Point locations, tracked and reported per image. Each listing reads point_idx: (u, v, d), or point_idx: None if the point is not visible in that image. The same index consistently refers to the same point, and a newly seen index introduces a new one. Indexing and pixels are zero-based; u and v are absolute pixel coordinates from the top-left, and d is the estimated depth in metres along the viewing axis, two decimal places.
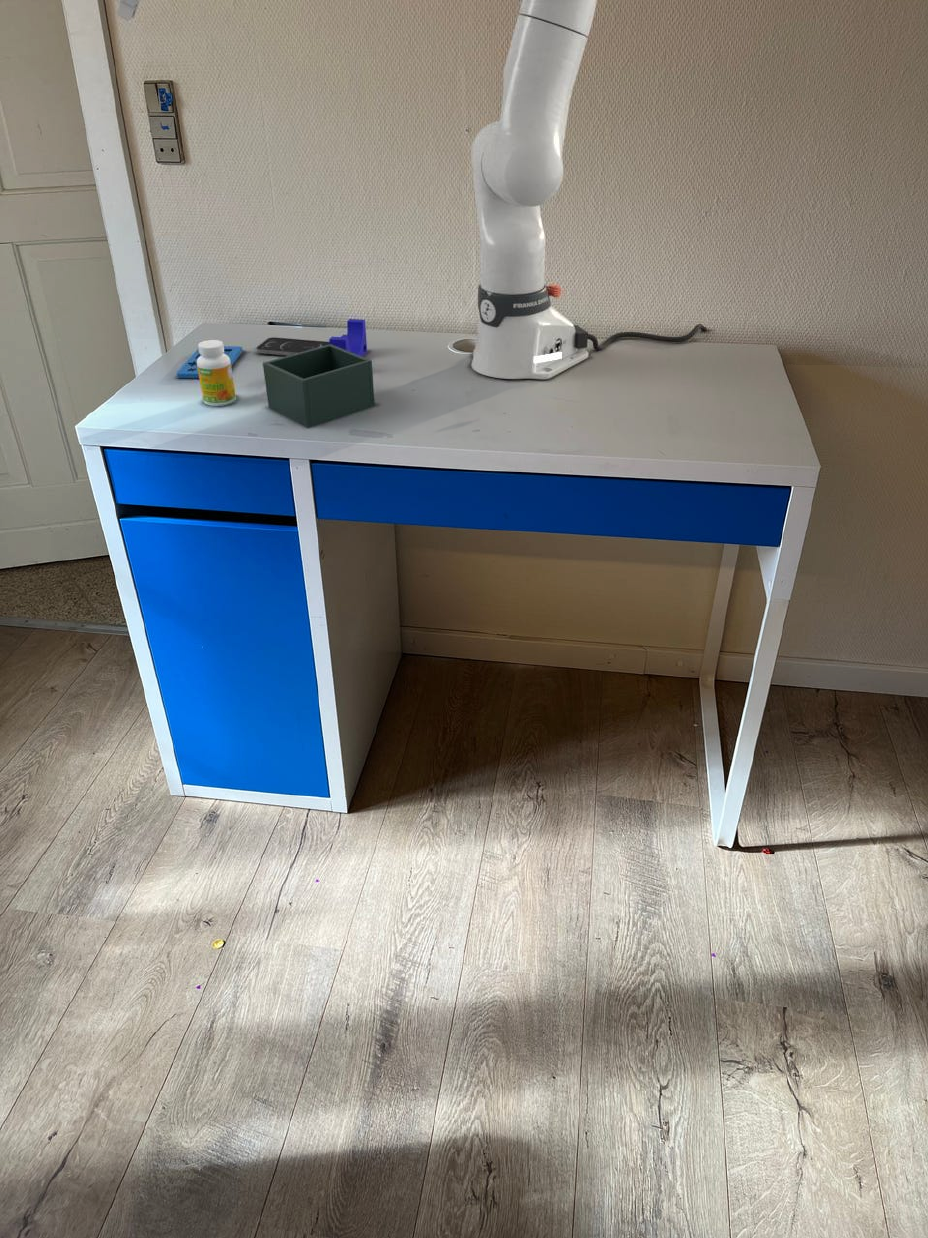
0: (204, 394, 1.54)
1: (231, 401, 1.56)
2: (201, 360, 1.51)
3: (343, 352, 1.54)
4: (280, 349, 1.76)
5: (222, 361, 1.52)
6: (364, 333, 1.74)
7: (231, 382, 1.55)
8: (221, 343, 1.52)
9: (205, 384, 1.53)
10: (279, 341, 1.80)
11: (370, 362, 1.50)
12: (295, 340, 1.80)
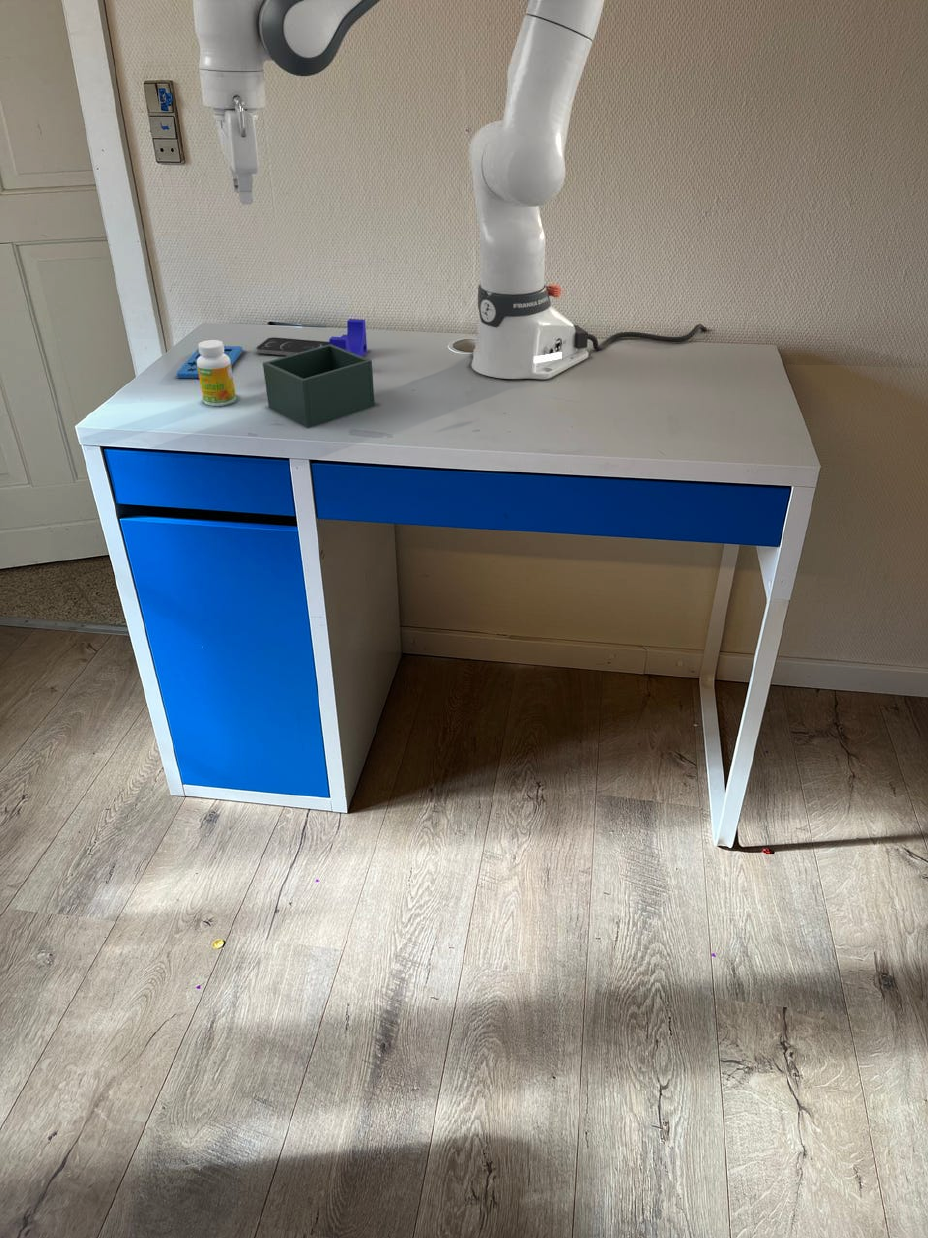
0: (204, 394, 1.54)
1: (231, 401, 1.56)
2: (202, 360, 1.51)
3: (343, 352, 1.54)
4: (280, 349, 1.76)
5: (222, 361, 1.52)
6: (364, 333, 1.74)
7: (231, 382, 1.55)
8: (221, 343, 1.52)
9: (205, 384, 1.53)
10: (279, 341, 1.80)
11: (370, 362, 1.50)
12: (295, 340, 1.80)
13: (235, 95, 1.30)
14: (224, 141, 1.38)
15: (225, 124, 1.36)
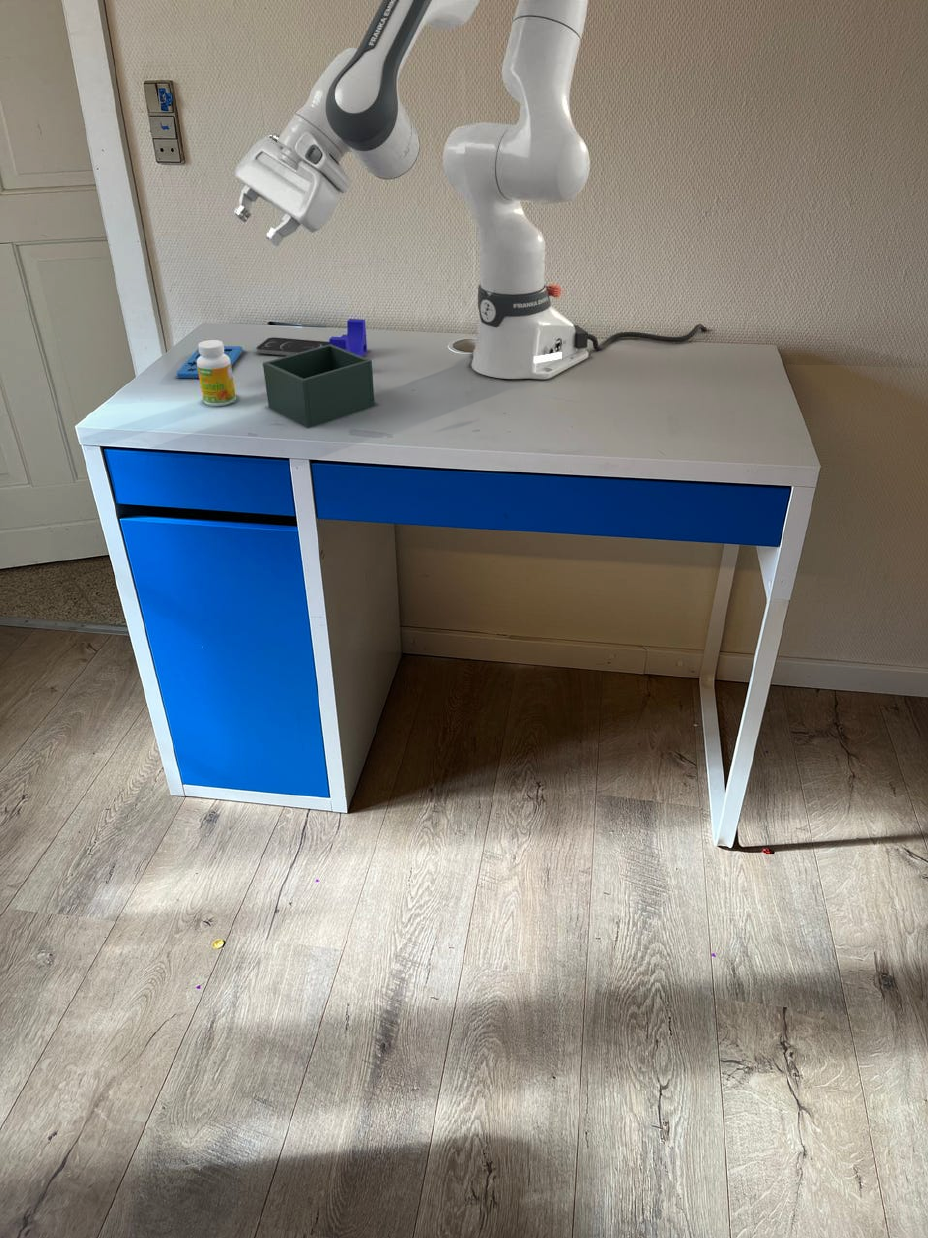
0: (204, 394, 1.54)
1: (231, 401, 1.56)
2: (202, 360, 1.51)
3: (343, 352, 1.54)
4: (280, 349, 1.76)
5: (222, 361, 1.52)
6: (364, 333, 1.74)
7: (231, 382, 1.55)
8: (221, 343, 1.52)
9: (205, 384, 1.53)
10: (279, 341, 1.80)
11: (370, 362, 1.50)
12: (295, 340, 1.80)
13: None
14: None
15: None
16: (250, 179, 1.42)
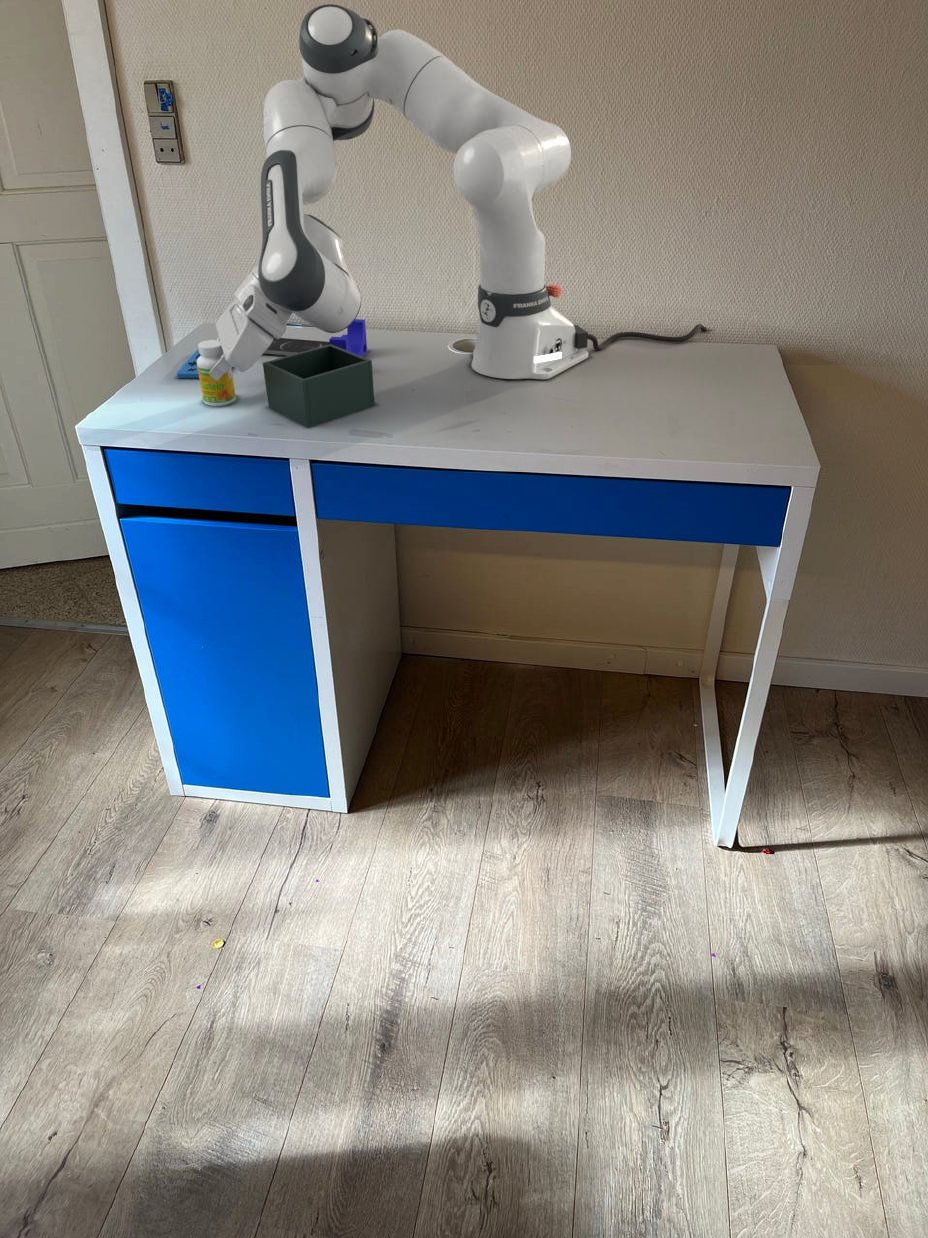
0: (204, 394, 1.54)
1: (231, 401, 1.56)
2: (201, 360, 1.51)
3: (343, 352, 1.54)
4: (280, 349, 1.76)
5: None
6: (364, 333, 1.74)
7: (231, 382, 1.55)
8: None
9: (205, 384, 1.53)
10: (279, 341, 1.80)
11: (370, 362, 1.50)
12: (295, 340, 1.80)
13: None
14: None
15: None
16: (219, 327, 1.55)
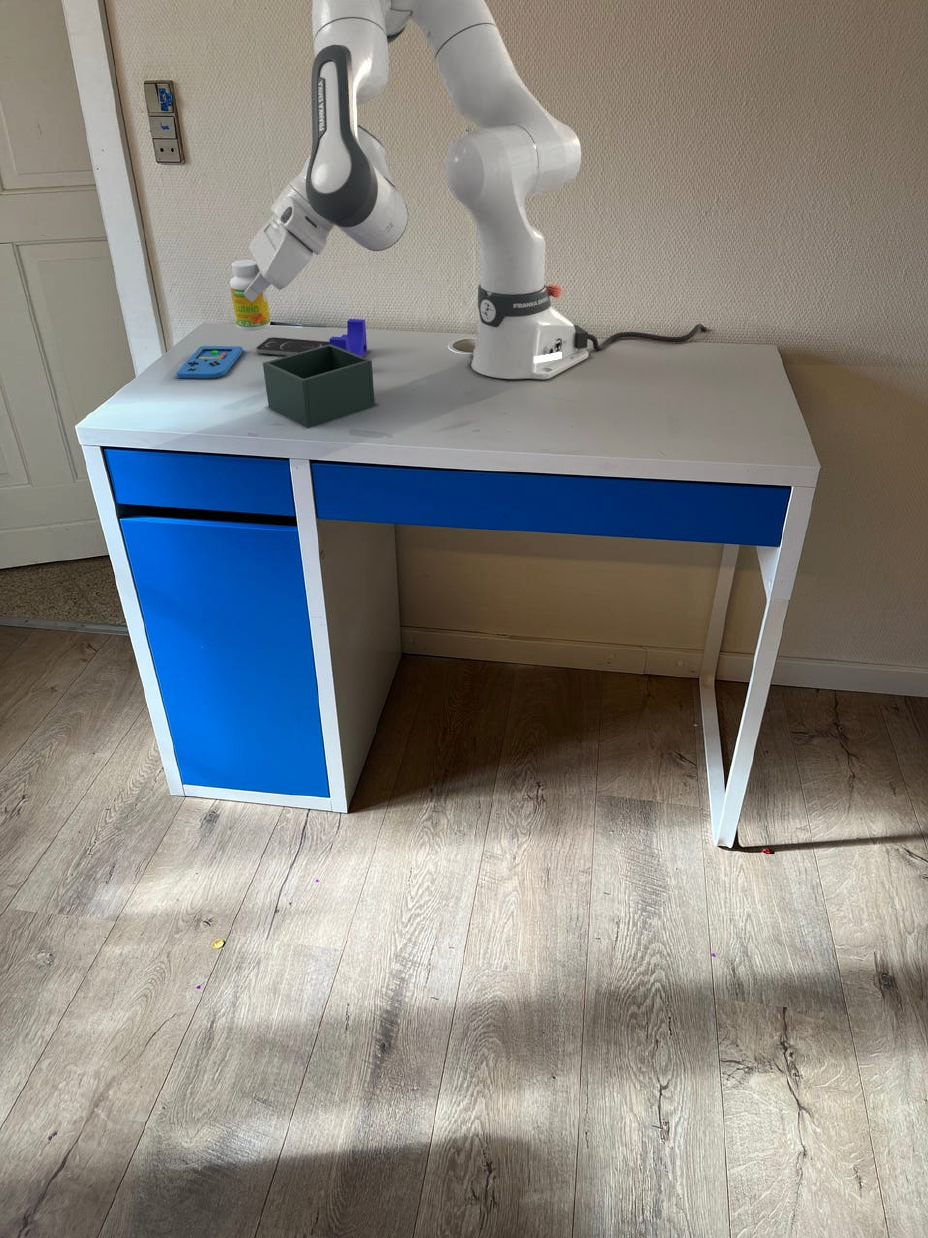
0: (237, 317, 1.46)
1: (266, 326, 1.47)
2: (235, 280, 1.43)
3: (343, 352, 1.54)
4: (280, 349, 1.76)
5: None
6: (364, 333, 1.74)
7: (266, 305, 1.46)
8: None
9: (239, 307, 1.45)
10: (279, 341, 1.80)
11: (370, 362, 1.50)
12: (295, 340, 1.80)
13: None
14: None
15: None
16: (253, 248, 1.47)
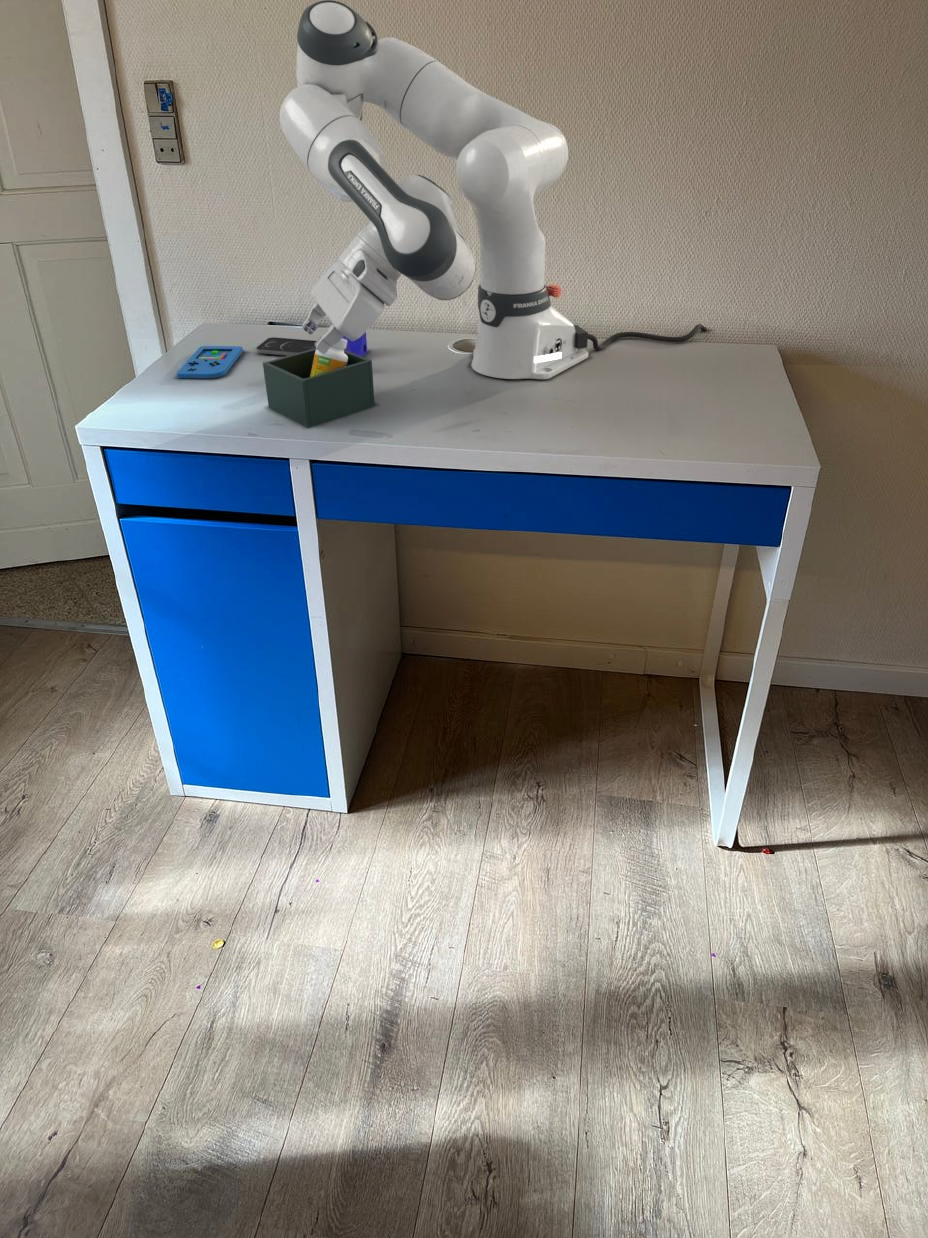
0: None
1: None
2: None
3: None
4: (280, 349, 1.76)
5: (343, 355, 1.50)
6: (364, 333, 1.74)
7: None
8: (346, 340, 1.51)
9: (318, 373, 1.50)
10: (279, 341, 1.80)
11: (370, 362, 1.50)
12: (295, 340, 1.80)
13: None
14: None
15: None
16: (318, 295, 1.49)
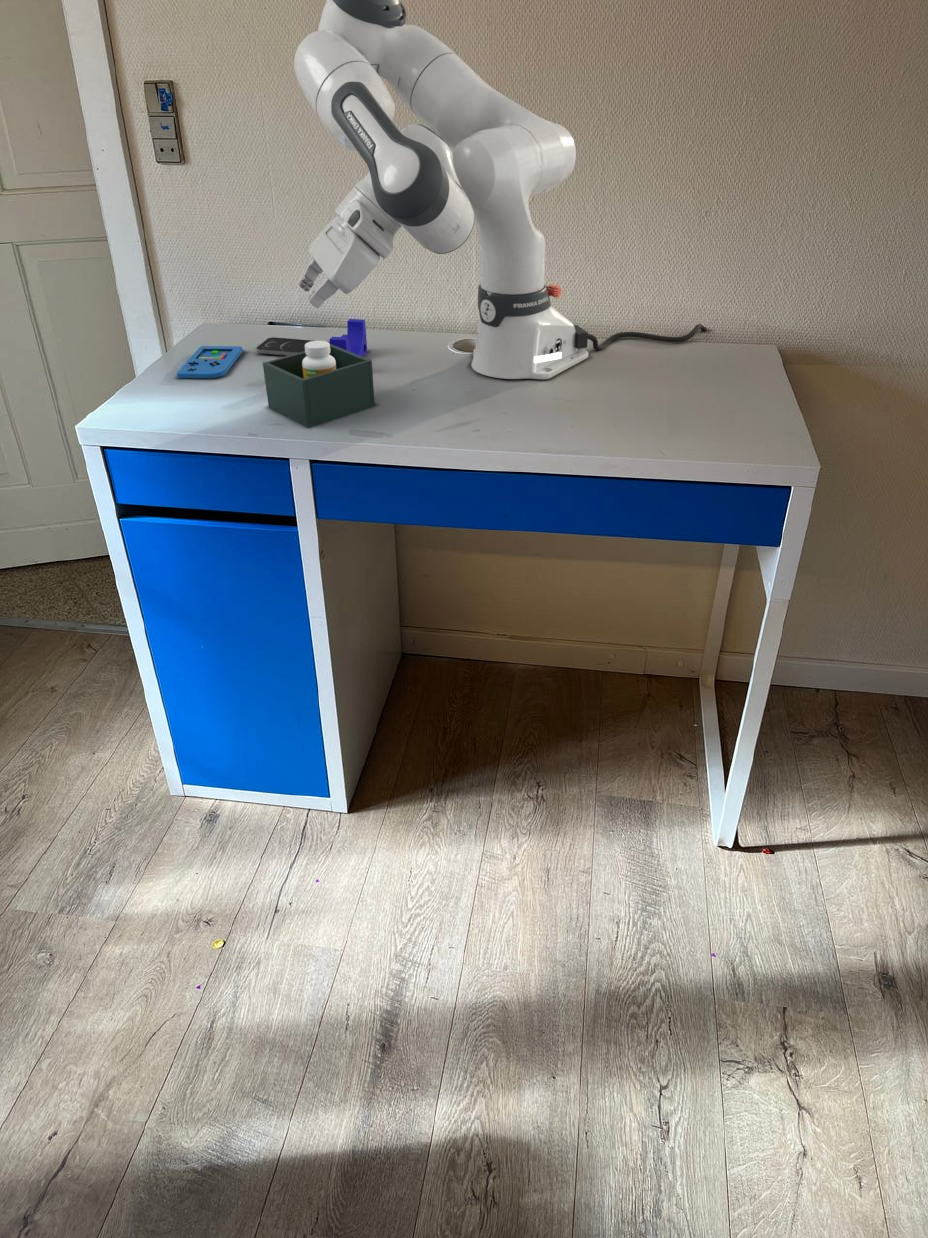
0: None
1: None
2: (308, 361, 1.48)
3: (343, 352, 1.54)
4: (280, 349, 1.76)
5: (329, 362, 1.49)
6: (364, 333, 1.74)
7: None
8: (328, 343, 1.49)
9: None
10: (279, 341, 1.80)
11: (370, 362, 1.50)
12: (295, 340, 1.80)
13: None
14: None
15: None
16: (315, 251, 1.45)
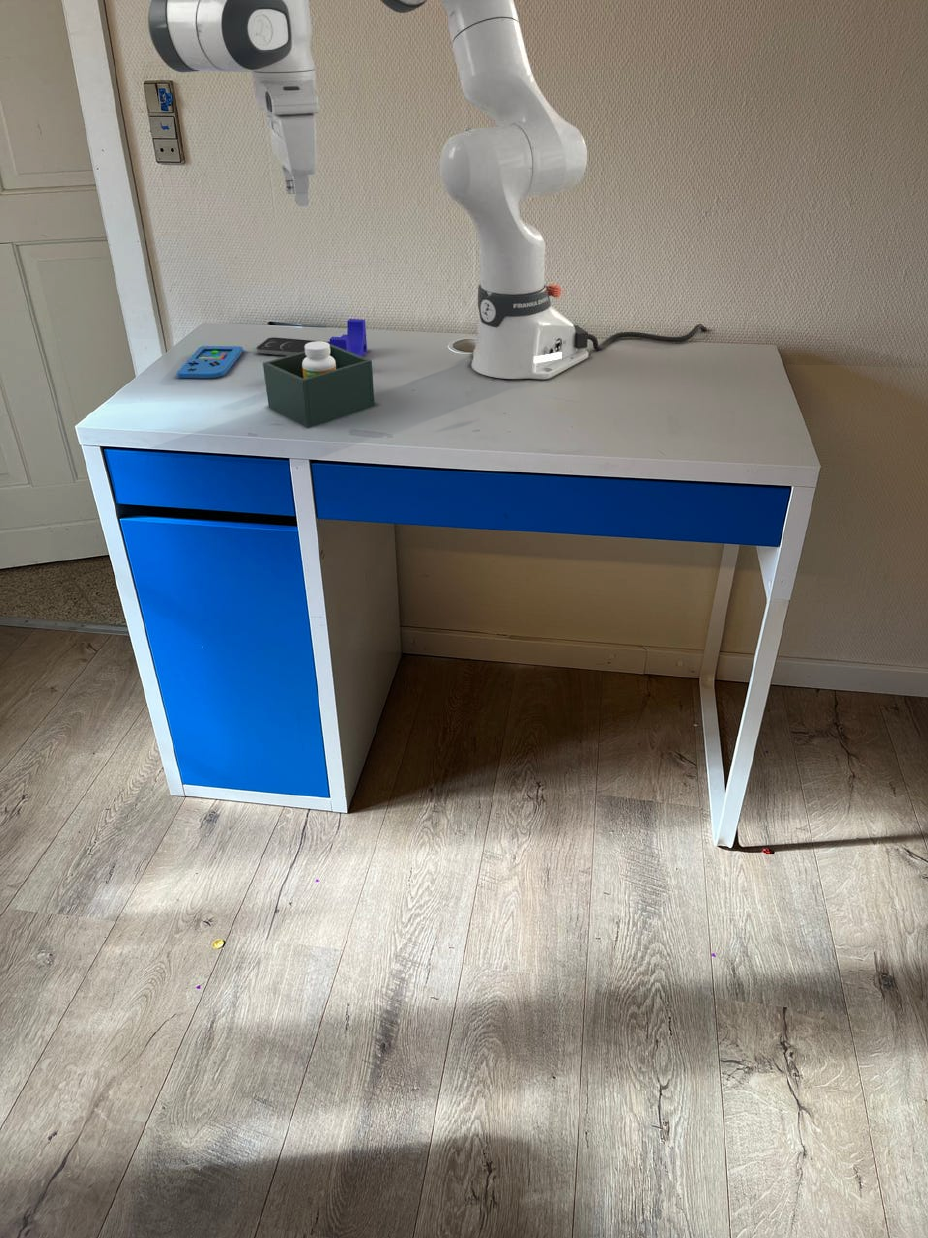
0: None
1: None
2: (308, 362, 1.48)
3: (343, 352, 1.54)
4: (280, 349, 1.76)
5: (329, 363, 1.48)
6: (364, 333, 1.74)
7: None
8: (328, 344, 1.48)
9: None
10: (279, 341, 1.80)
11: (370, 362, 1.50)
12: (295, 340, 1.80)
13: None
14: None
15: None
16: (275, 153, 1.41)
